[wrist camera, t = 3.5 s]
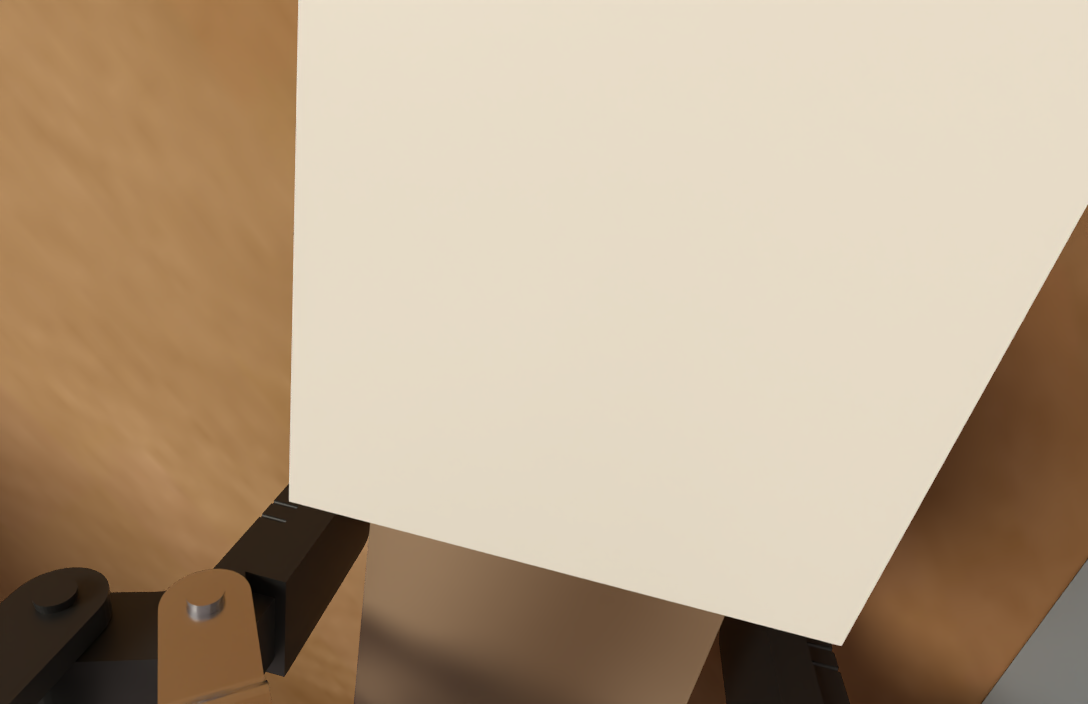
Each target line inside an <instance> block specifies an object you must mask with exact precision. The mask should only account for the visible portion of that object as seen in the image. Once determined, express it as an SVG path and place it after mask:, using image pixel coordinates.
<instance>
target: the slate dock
mask: <svg viewBox="0 0 1088 704" xmlns="http://www.w3.org/2000/svg"><path fill="white" fill-rule="evenodd" d="M982 704H1088V560H1087V561H1086V562H1085V564H1084V565H1083V567H1082V568H1081V569H1080V571H1079V572H1078V573H1077V575H1076V576H1075V577H1074V579H1073V580H1072V582H1071V583H1070V584H1069V586H1068V587H1067V588H1066V590H1065V591H1064V592H1063V594H1062V595H1061V597H1060V598H1059V599H1058V601H1057V602H1056V603H1055V605H1054V606H1053V607H1052V609H1051V610H1050V611H1049V613H1048V614H1047V616H1046V617H1045V618H1044V620H1043V621H1042V622H1041V624H1040V625H1039V626H1038V628H1037V629H1036V631H1035V632H1034V633H1033V635H1032V636H1031V637H1030V639H1029V640H1028V641H1027V643H1026V644H1025V646H1024V647H1023V648H1022V650H1021V651H1020V652H1019V654H1018V655H1017V656H1016V658H1015V659H1014V661H1013V662H1012V663H1011V665H1010V666H1009V667H1008V669H1007V670H1006V671H1005V673H1004V674H1003V675H1002V677H1001V678H1000V680H999V681H998V682H997V684H996V685H995V686H994V688H993V689H992V690H991V692H990V693H989V695H988V696H987V697H986V699H985V700H984V701H983V703H982Z"/></svg>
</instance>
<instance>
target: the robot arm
mask: <svg viewBox="0 0 1088 704" xmlns="http://www.w3.org/2000/svg"><path fill="white" fill-rule="evenodd" d="M369 530H370V523H369V522H366V521H362V520H358V519H354V518H350V517H347V516H343V515H339V514H335V513H331V512H327V511H324V510H320V509H316V508H312V507H308V506H305V505H301V504H297V503H293V502H289V484H288V485H287V487H286V488H285V489H284V490H283V491H282V492H281V493H280V494H279V496H278V497H277V498H276V499H275V500H274V503H273V504H272V503H271V505H270V506H269V507H268V508H267V509H266V510H265V511H264V512H263V514H262V517H259V518H258V519H257V520H256V521H255V523H254V524H253V525H252V526H251V527H250V528H249V529H248V530H247V532H246V533H245V534H244V535H243V536H242V537H241V538H240V539H239V541H238V542H237V543H236V544H235V545H234V546H233V547H232V548H231V550H230V551H229V552H228V553H227V554H226V555H225V556H224V557H223V559H222V560H221V561H220V562H219V563H218V564H217V565H216V566H215V567H214V568H213V569H208V570H202V571H198V572H195V573H192V574H190V575H187V576H185V577H183V578H181V579H180V580H178V581H177V582H175V583H174V584H173V585H172V586H170V587H169V588H168V589H167V591H162V592H117V593H110V590H109V584H108V581H107V579H106V578H105V577H104V576H103V575H102V574H101V573H99V572H97V571H95V570H92V569H88V568H64V569H59V570H55V571H51V572H48V573H45V574H43V575H40V576H38V577H36V578H34V579H32V580H30V581H28V582H26V583H25V584H23V585H22V586H20V587H19V588H18V589H17V590H15V591H14V592H13V593H12V594H11V595H9V596H8V597H7V598H6V599H5V600H4V601H3V602H2V603H0V704H272V700H271V693H270V688H269V684H268V681H267V680H266V681H265V679H264V674H265V672H269V673H273V674H276V675H280V676H283V677H285V675H286V673H287V672H288V670H289V668H290V667H291V665H292V664H293V662H294V660H295V659H296V657H297V655H298V654H299V652H300V650H301V649H302V647H303V646H304V644H305V642H306V641H307V639H308V637H309V636H310V634H311V632H312V631H313V629H314V628H315V626H316V624H317V623H318V621H319V619H320V618H321V616H322V614H323V613H324V611H325V610H326V608H327V606H328V605H329V603H330V601H331V600H332V598H333V596H334V595H335V593H336V592H337V590H338V588H339V587H340V585H341V583H342V582H343V580H344V578H345V577H346V575H347V574H348V572H349V570H350V569H351V567H352V565H353V564H354V562H355V561H356V559H357V557H358V556H359V554H360V552H361V551H362V549H363V547H364V545H365V543H366V541H367V539H368V536H369ZM719 645H720V654H721V662H722V670H723V679H724V687H725V695H726V704H850V702H849V699H848V696H847V693H846V690H845V686H844V683H843V680H842V677H841V674H840V672H838V668H839V667H838V664H837V661H836V658H835V655H834V653H833V652H832V645H831V643H828V642H824V641H820V640H816V639H812V638H809V637H805V636H801V635H797V634H793V633H789V632H786V631H782V630H778V629H774V628H770V627H767V626H763V625H759V624H755V623H751V622H747V621H744V620H740V619H736V618H732V617H728V616H725V617H724V619H723V621H722V624H721V626H720V632H719Z"/></svg>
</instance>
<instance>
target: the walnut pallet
mask: <svg viewBox="0 0 1088 704" xmlns="http://www.w3.org/2000/svg"><path fill="white" fill-rule="evenodd" d="M724 617H725V615H721V614H717V613H713V612H709V611H705V610H702V609H698V608H694V607H690V606H686V605H683V604H679V603H675V602H671V601H667V600H663V599H660V598H656V597H652V596H648V595H644V594H641V593H637V592H633V591H629V590H625V589H621V588H618V587H614V586H610V585H606V584H602V583H599V582H595V581H591V580H587V579H583V578H579V577H576V576H572V575H568V574H564V573H560V572H557V571H553V570H549V569H545V568H541V567H537V566H534V565H530V564H526V563H522V562H518V561H515V560H511V559H507V558H503V557H499V556H495V555H492V554H488V553H484V552H480V551H476V550H473V549H469V548H465V547H461V546H457V545H453V544H450V543H446V542H442V541H438V540H434V539H431V538H427V537H423V536H419V535H415V534H411V533H408V532H404V531H400V530H396V529H392V528H389V527H385V526H381V525H377V524H373V523H370V530H369V541H368V552H367V564H366V575H365V586H364V597H363V608H362V619H361V630H360V641H359V653H358V664H357V675H356V686H355V697H354V704H687V702H688V700H689V698H690V695H691V693H692V691H693V688H694V686H695V684H696V681H697V679H698V677H699V674H700V672H701V670H702V668H703V665H704V663H705V661H706V658H707V656H708V654H709V651H710V649H711V647H712V644H713V642H714V640H715V637H716V635H717V633H718V630H719V628H720V626H721V624H722V621H723V619H724Z"/></svg>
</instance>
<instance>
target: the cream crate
mask: <svg viewBox="0 0 1088 704" xmlns="http://www.w3.org/2000/svg"><path fill="white" fill-rule="evenodd" d="M1087 205H1088V0H298V50H297V102H296V155H295V207H294V259H293V312H292V364H291V416H290V468H289V502H293V503H297V504H301V505H305V506H308V507H312V508H316V509H320V510H324V511H327V512H331V513H335V514H339V515H343V516H347V517H350V518H354V519H358V520H362V521H366V522H369V523H373V524H377V525H381V526H385V527H389V528H392V529H396V530H400V531H404V532H408V533H411V534H415V535H419V536H423V537H427V538H431V539H434V540H438V541H442V542H446V543H450V544H453V545H457V546H461V547H465V548H469V549H473V550H476V551H480V552H484V553H488V554H492V555H495V556H499V557H503V558H507V559H511V560H515V561H518V562H522V563H526V564H530V565H534V566H537V567H541V568H545V569H549V570H553V571H557V572H560V573H564V574H568V575H572V576H576V577H579V578H583V579H587V580H591V581H595V582H599V583H602V584H606V585H610V586H614V587H618V588H621V589H625V590H629V591H633V592H637V593H641V594H644V595H648V596H652V597H656V598H660V599H663V600H667V601H671V602H675V603H679V604H683V605H686V606H690V607H694V608H698V609H702V610H705V611H709V612H713V613H717V614H721V615H725V616H728V617H732V618H736V619H740V620H744V621H747V622H751V623H755V624H759V625H763V626H767V627H770V628H774V629H778V630H782V631H786V632H789V633H793V634H797V635H801V636H805V637H809V638H812V639H816V640H820V641H824V642H828V643H831V644H835V645H839V646H842V644H843V642H844V641H845V639H846V637H847V635H848V633H849V632H850V630H851V628H852V626H853V624H854V623H855V621H856V619H857V617H858V616H859V614H860V612H861V610H862V608H863V607H864V605H865V603H866V601H867V599H868V598H869V596H870V594H871V592H872V590H873V589H874V587H875V585H876V583H877V581H878V580H879V578H880V576H881V574H882V572H883V571H884V569H885V567H886V565H887V563H888V562H889V560H890V558H891V556H892V555H893V553H894V551H895V549H896V547H897V546H898V544H899V542H900V540H901V538H902V537H903V535H904V533H905V531H906V529H907V528H908V526H909V524H910V522H911V520H912V519H913V517H914V515H915V513H916V511H917V510H918V508H919V506H920V504H921V502H922V501H923V499H924V497H925V495H926V493H927V492H928V490H929V488H930V486H931V485H932V483H933V481H934V479H935V477H936V476H937V474H938V472H939V470H940V468H941V467H942V465H943V463H944V461H945V459H946V458H947V456H948V454H949V452H950V450H951V449H952V447H953V445H954V443H955V441H956V440H957V438H958V436H959V434H960V432H961V431H962V429H963V427H964V425H965V424H966V422H967V420H968V418H969V416H970V415H971V413H972V411H973V409H974V407H975V406H976V404H977V402H978V400H979V398H980V397H981V395H982V393H983V391H984V389H985V388H986V386H987V384H988V382H989V380H990V379H991V377H992V375H993V373H994V371H995V370H996V368H997V366H998V364H999V362H1000V361H1001V359H1002V357H1003V355H1004V354H1005V352H1006V350H1007V348H1008V346H1009V345H1010V343H1011V341H1012V339H1013V337H1014V336H1015V334H1016V332H1017V330H1018V328H1019V327H1020V325H1021V323H1022V321H1023V319H1024V318H1025V316H1026V314H1027V312H1028V310H1029V309H1030V307H1031V305H1032V303H1033V301H1034V300H1035V298H1036V296H1037V294H1038V293H1039V291H1040V289H1041V287H1042V285H1043V284H1044V282H1045V280H1046V278H1047V276H1048V275H1049V273H1050V271H1051V269H1052V267H1053V266H1054V264H1055V262H1056V260H1057V258H1058V257H1059V255H1060V253H1061V251H1062V249H1063V248H1064V246H1065V244H1066V242H1067V240H1068V239H1069V237H1070V235H1071V233H1072V231H1073V230H1074V228H1075V226H1076V224H1077V223H1078V221H1079V219H1080V217H1081V215H1082V214H1083V212H1084V210H1085V208H1086V206H1087Z"/></svg>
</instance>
